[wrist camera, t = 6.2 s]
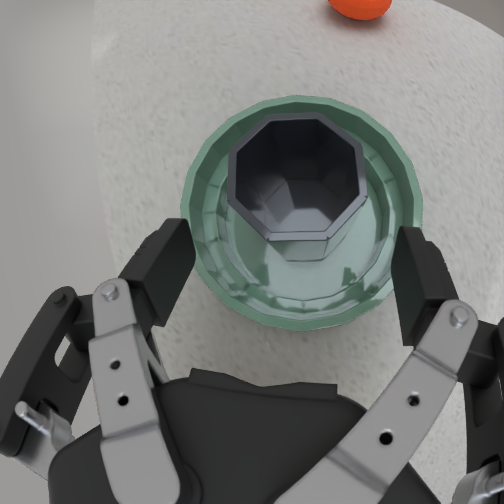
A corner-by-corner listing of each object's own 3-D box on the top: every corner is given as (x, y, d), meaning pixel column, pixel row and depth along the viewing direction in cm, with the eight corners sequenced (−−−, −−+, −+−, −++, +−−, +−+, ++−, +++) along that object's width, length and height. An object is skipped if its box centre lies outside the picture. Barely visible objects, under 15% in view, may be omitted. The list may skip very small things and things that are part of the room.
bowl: (303, 361, 20) (299, 382, 15) (173, 224, 23) (140, 209, 18) (434, 218, 19) (463, 200, 14) (298, 102, 22) (292, 64, 17)
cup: (304, 279, 20) (298, 272, 12) (243, 219, 21) (200, 177, 13) (363, 216, 20) (393, 170, 11) (301, 161, 21) (291, 92, 13)
